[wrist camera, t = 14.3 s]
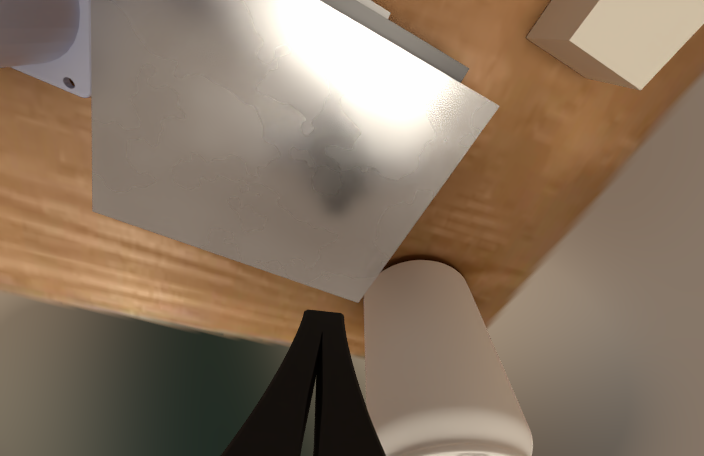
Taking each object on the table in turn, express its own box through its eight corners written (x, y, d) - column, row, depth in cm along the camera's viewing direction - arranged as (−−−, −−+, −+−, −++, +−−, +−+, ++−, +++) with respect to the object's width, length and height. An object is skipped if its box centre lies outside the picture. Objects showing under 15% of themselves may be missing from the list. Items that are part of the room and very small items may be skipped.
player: (152, 169, 18) (92, 211, 14) (180, -80, 12) (89, -135, 8) (357, 249, 21) (358, 302, 17) (461, 85, 15) (499, 106, 11)
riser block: (525, 37, 14) (569, 40, 11) (596, -67, 12) (672, -97, 9) (586, 78, 15) (640, 90, 12) (661, -13, 13) (748, -25, 10)
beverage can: (347, 310, 25) (342, 496, 15) (392, 239, 21) (425, 430, 11) (430, 335, 27) (474, 517, 17) (487, 274, 23) (590, 467, 13)
